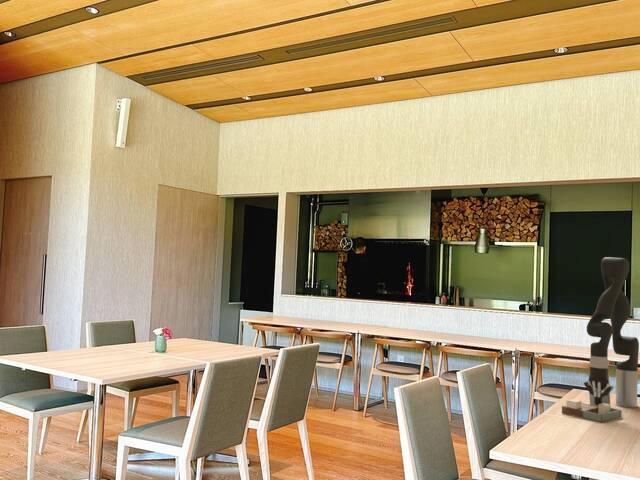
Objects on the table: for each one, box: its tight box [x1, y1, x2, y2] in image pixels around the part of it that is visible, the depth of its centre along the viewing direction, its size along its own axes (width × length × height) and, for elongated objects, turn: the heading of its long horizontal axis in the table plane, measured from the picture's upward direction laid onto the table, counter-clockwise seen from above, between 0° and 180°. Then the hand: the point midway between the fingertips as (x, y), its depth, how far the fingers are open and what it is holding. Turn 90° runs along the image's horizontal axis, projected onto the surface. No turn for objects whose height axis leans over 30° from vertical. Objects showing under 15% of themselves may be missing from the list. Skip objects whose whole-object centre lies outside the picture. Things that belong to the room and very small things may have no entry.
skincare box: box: [588, 373, 612, 408], centre depth 281 cm, size 8×7×16 cm
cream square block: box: [566, 398, 582, 409], centre depth 266 cm, size 4×4×3 cm
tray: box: [582, 407, 623, 423], centre depth 261 cm, size 18×8×3 cm, turn 129°
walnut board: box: [561, 402, 598, 419], centre depth 269 cm, size 16×10×3 cm, turn 129°
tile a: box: [598, 403, 611, 414], centre depth 265 cm, size 4×4×3 cm
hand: (598, 405), depth 268 cm, fingers closed
